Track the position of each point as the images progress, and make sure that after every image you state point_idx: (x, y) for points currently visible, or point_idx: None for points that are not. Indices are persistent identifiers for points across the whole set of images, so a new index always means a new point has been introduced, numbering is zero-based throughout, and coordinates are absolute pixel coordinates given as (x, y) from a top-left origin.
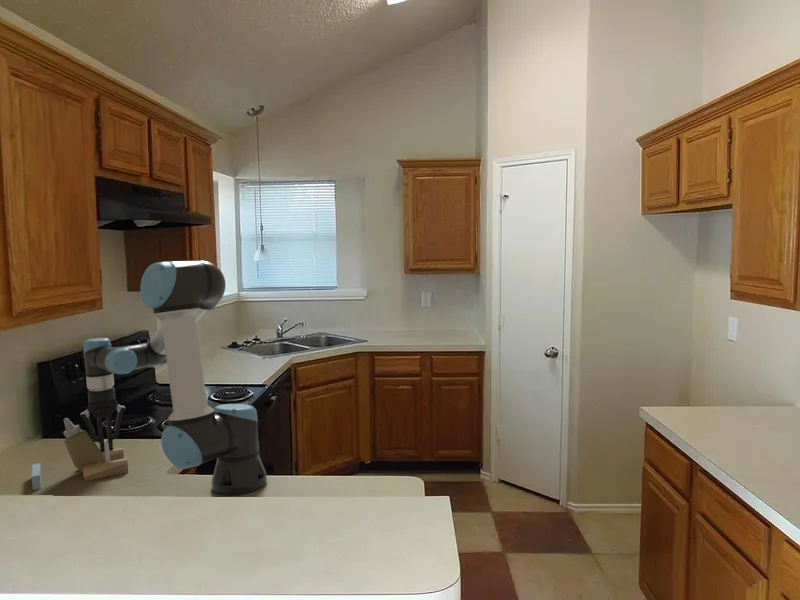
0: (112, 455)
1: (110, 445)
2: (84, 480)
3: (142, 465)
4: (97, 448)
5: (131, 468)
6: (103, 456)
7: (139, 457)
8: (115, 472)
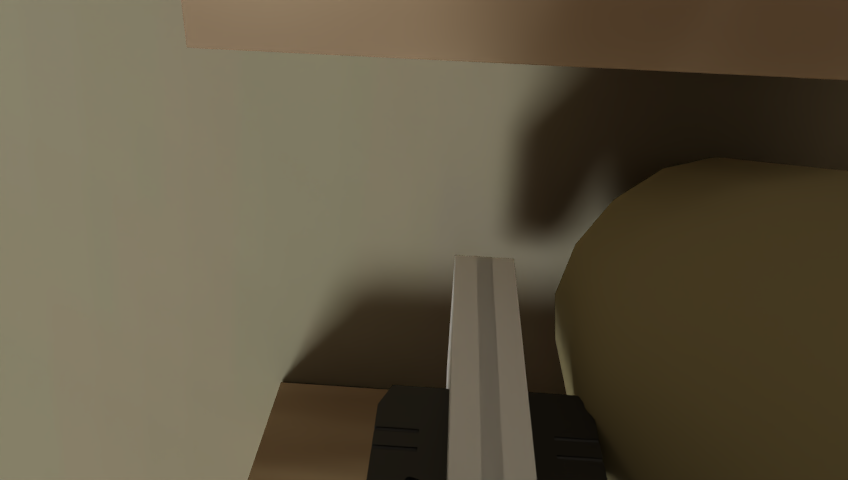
0: None
1: (412, 459)
2: None
3: (49, 76)
4: (672, 435)
5: None
6: None
7: (108, 392)
8: None
